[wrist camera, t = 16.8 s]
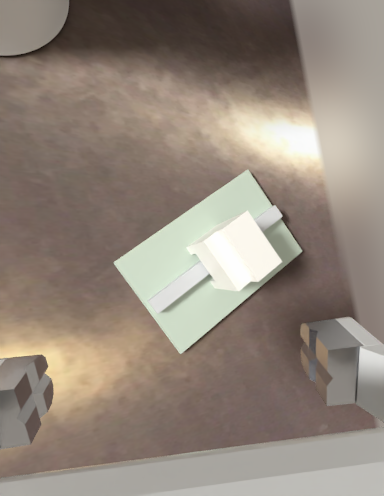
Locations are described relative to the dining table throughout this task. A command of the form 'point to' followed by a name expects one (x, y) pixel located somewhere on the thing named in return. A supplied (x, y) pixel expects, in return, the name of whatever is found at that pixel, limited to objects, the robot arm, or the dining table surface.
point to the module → (235, 253)
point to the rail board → (191, 268)
